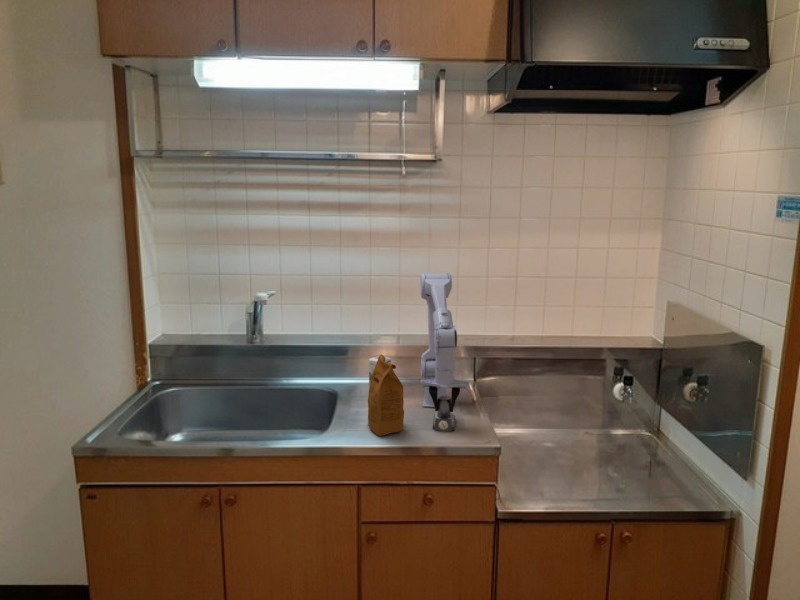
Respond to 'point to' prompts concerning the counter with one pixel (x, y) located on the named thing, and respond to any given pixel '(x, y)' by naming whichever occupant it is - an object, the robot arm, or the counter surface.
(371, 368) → the syrup box
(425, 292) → the robot arm
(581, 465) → the counter surface
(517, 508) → the counter surface
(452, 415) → the dial scale
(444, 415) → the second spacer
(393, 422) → the coffee package
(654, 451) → the counter surface
